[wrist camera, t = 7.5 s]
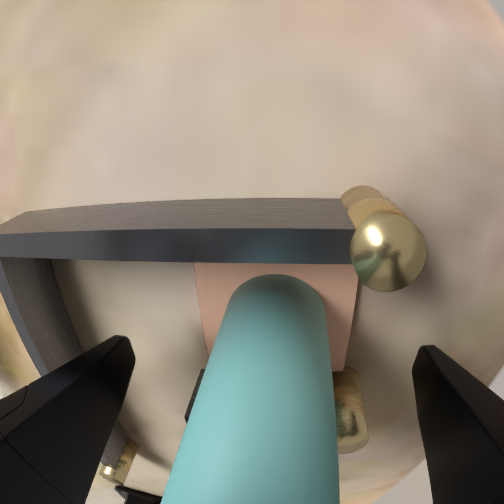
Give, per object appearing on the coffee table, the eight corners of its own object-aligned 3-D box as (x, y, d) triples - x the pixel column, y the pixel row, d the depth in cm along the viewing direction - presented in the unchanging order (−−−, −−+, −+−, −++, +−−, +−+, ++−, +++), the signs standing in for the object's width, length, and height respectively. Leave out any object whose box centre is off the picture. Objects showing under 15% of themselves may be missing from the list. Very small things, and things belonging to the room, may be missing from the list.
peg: (329, 274, 9) (359, 516, 3) (321, 354, 10) (324, 551, 4) (222, 272, 10) (130, 493, 3) (230, 351, 11) (179, 538, 4)
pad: (342, 365, 11) (343, 371, 11) (211, 361, 12) (209, 366, 11) (360, 242, 9) (361, 246, 9) (193, 241, 10) (191, 244, 9)
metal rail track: (329, 472, 15) (329, 513, 12) (120, 446, 16) (105, 480, 14) (390, 187, 8) (432, 220, 5) (17, 203, 10) (-35, 230, 7)
